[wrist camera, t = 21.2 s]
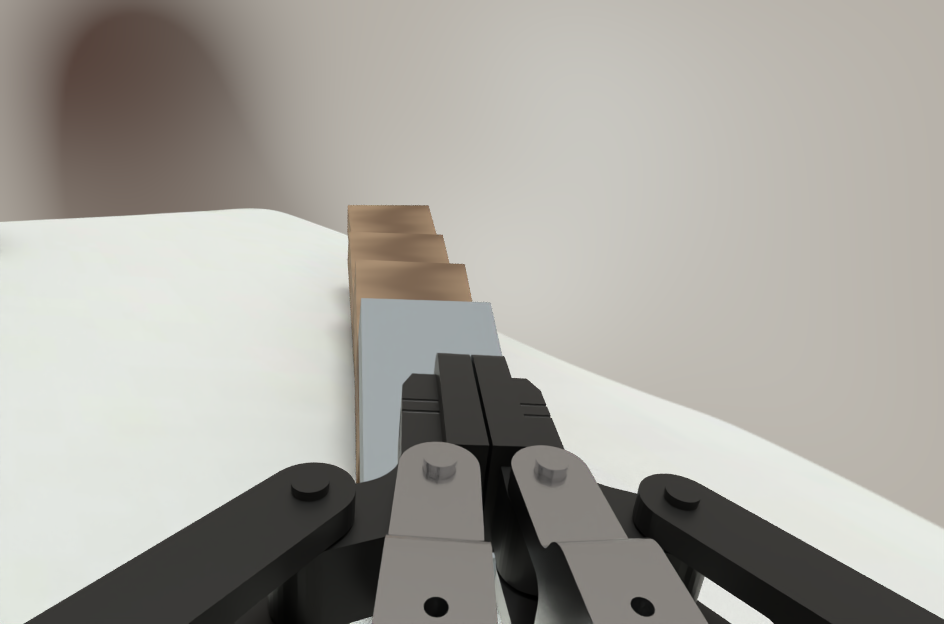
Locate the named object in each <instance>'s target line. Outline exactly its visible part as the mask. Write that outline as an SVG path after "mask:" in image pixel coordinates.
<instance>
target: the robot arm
mask: <svg viewBox="0 0 944 624" xmlns="http://www.w3.org/2000/svg"><path fill="white" fill-rule="evenodd" d="M492 553H494V554H495V560H496V564H495V570H494V568H493V554H492ZM704 577H707V578H708V579H710V580H711V581H713V582H714V583H716V584H717V585H719V586H720V587H722V588H723V589H725V590H726V591H728V592H729V593H731V594H733V595H734V596H736V597H737V598H739V599H740V600H742V601H743V602H745V603H746V604H748V605H749V606H751V607H752V608H754V609H755V610H757V611H758V612H760V613H761V614H763V615H764V616H766V617H767V618H768V619H770V620H771V621H772V622H773V623H774V624H944V619H942V618H940V617H938V616H937V615H935V614H933V613H931V612H929V611H928V610H926V609H924V608H922V607H920V606H919V605H917V604H915V603H913V602H911V601H910V600H908V599H906V598H904V597H902V596H901V595H899V594H897V593H895V592H893V591H892V590H890V589H888V588H886V587H884V586H883V585H881V584H879V583H877V582H875V581H874V580H872V579H870V578H868V577H866V576H865V575H863V574H861V573H859V572H858V571H856V570H854V569H852V568H850V567H849V566H847V565H845V564H843V563H841V562H840V561H838V560H836V559H834V558H832V557H831V556H829V555H827V554H825V553H823V552H822V551H820V550H818V549H816V548H814V547H813V546H811V545H809V544H807V543H805V542H804V541H802V540H800V539H798V538H796V537H795V536H793V535H791V534H789V533H787V532H786V531H784V530H782V529H780V528H778V527H777V526H775V525H773V524H771V523H769V522H768V521H766V520H764V519H762V518H760V517H759V516H757V515H755V514H753V513H751V512H750V511H748V510H746V509H744V508H742V507H741V506H739V505H737V504H735V503H733V502H732V501H730V500H728V499H726V498H724V497H723V496H721V495H719V494H717V493H715V492H714V491H712V490H710V489H708V488H706V487H705V486H703V485H701V484H699V483H697V482H695V481H693V480H691V479H688V478H685V477H682V476H678V475H673V474H654V475H651V476H648V477H646V478H645V479H643V480H642V481H641V483H640V485H639V489H638V493H637V494H636V493H632V492H628V491H624V490H619V489H615V488H611V487H608V486H604V485H602V484H599V483H597V482H596V480H595V479H594V477H593V475H592V473H591V472H590V470H589V468H588V467H587V465H586V464H585V463H584V462H583V461H582V460H581V459H580V458H579V457H577V456H576V455H574V454H573V453H571V452H568V451H566V450H564V447H563V445H562V442H561V440H560V437H559V435H558V432H557V430H556V428H555V425H554V423H553V420H552V418H550V413H549V410H548V408H547V407H546V403H545V401H544V398H543V396H542V393H541V391H540V390H539V389H538V388H537V387H536V386H534V385H533V384H532V383H531V382H530V381H529V380H527V379H521V378H511V375H510V372H509V369H508V366H507V363H506V360H505V357H504V356H491V355H471V356H470V355H469V354H452V353H437V354H436V359H435V368H434V374H417V373H412V374H411V375H410V376H409V378H408V379H407V380H406V381H405V382H404V383H403V384H402V396H401V410H400V423H399V437H398V464H397V465H396V467H395V468H394V469H393V470H391V471H390V472H389V473H387V474H385V475H383V476H382V477H379V478H377V479H374V480H370V481H366V482H361V483H356V484H355V482H354V480H353V478H352V477H351V475H350V474H349V473H347V472H346V471H345V470H343V469H341V468H339V467H337V466H334V465H331V464H326V463H303V464H298V465H294V466H291V467H288V468H285V469H283V470H281V471H279V472H278V473H276V474H274V475H273V476H271V477H269V478H268V479H266V480H264V481H263V482H261V483H259V484H258V485H256V486H254V487H253V488H251V489H249V490H248V491H246V492H244V493H243V494H241V495H239V496H237V497H236V498H234V499H232V500H231V501H229V502H227V503H226V504H224V505H222V506H221V507H219V508H217V509H216V510H214V511H212V512H211V513H209V514H207V515H206V516H204V517H202V518H201V519H199V520H197V521H195V522H194V523H192V524H190V525H189V526H187V527H185V528H184V529H182V530H180V531H179V532H177V533H175V534H174V535H172V536H170V537H169V538H167V539H165V540H164V541H162V542H160V543H159V544H157V545H155V546H154V547H152V548H150V549H148V550H147V551H145V552H143V553H142V554H140V555H138V556H137V557H135V558H133V559H132V560H130V561H128V562H127V563H125V564H123V565H122V566H120V567H118V568H117V569H115V570H113V571H112V572H110V573H108V574H106V575H105V576H103V577H101V578H100V579H98V580H96V581H95V582H93V583H91V584H90V585H88V586H86V587H85V588H83V589H81V590H80V591H78V592H76V593H75V594H73V595H71V596H70V597H68V598H66V599H65V600H63V601H61V602H59V603H58V604H56V605H54V606H53V607H51V608H49V609H48V610H46V611H44V612H43V613H41V614H39V615H38V616H36V617H34V618H33V619H31V620H29V621H28V622H26V623H24V624H350V623H351V622H355V621H358V620H361V619H365V618H368V617H371V616H373V620H372V624H498V622H497V608H498V612H499V616H500V619H501V623H502V624H731V623H729V622H728V621H727V620H725V619H724V618H722V617H721V616H719V615H718V614H716V613H715V612H714V611H712V610H711V609H709V608H708V607H706V606H705V605H703V604H702V603H701V602H699V601H698V600H697V598H698V595H699V592H700V589H701V586H702V583H703V580H704ZM496 604H497V608H496Z"/></svg>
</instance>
